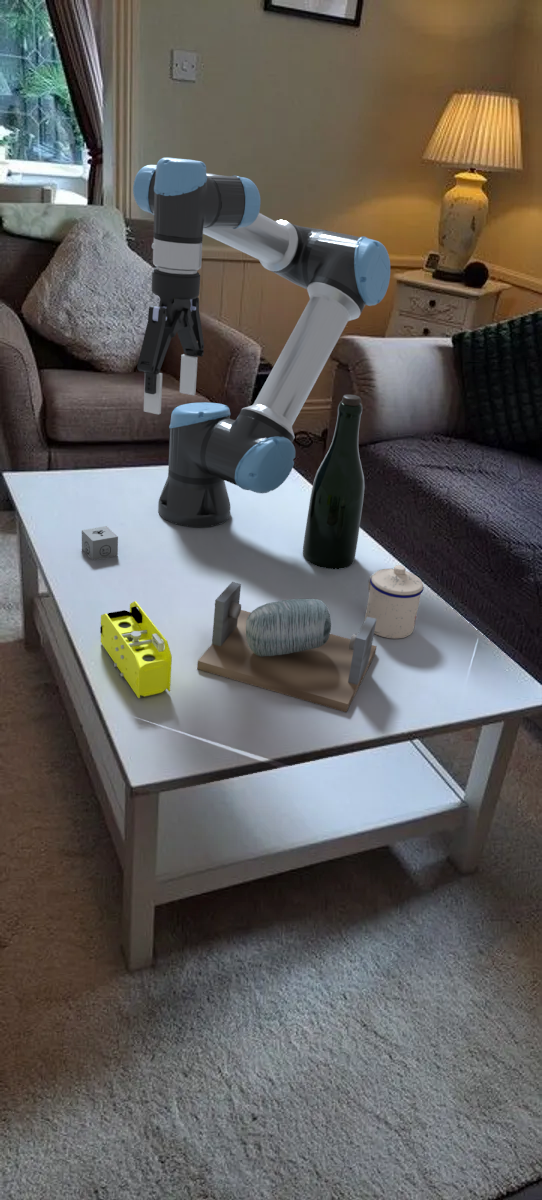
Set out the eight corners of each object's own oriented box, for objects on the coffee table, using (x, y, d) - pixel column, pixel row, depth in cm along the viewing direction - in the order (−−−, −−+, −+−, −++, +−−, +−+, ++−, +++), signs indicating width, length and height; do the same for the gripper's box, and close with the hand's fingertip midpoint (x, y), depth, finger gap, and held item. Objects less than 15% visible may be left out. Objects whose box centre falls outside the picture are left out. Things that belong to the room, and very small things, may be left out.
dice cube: (106, 549, 165) (106, 526, 163) (117, 560, 161) (118, 536, 159) (81, 554, 162) (81, 530, 160) (92, 565, 159) (92, 540, 156)
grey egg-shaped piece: (325, 620, 141) (311, 571, 136) (346, 652, 133) (332, 601, 128) (248, 652, 140) (231, 604, 134) (265, 685, 132) (247, 636, 127)
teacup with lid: (424, 635, 148) (437, 576, 143) (380, 644, 144) (392, 583, 139) (387, 602, 157) (398, 545, 152) (344, 609, 154) (354, 551, 148)
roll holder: (240, 617, 147) (244, 568, 143) (375, 653, 141) (384, 603, 137) (197, 668, 132) (200, 615, 128) (346, 712, 126) (356, 658, 122)
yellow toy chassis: (172, 694, 126) (175, 646, 122) (136, 703, 123) (137, 654, 119) (133, 640, 138) (134, 594, 134) (98, 646, 135) (99, 600, 131)
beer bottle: (362, 569, 168) (391, 404, 153) (313, 573, 165) (337, 405, 149) (341, 546, 177) (365, 387, 161) (293, 549, 173) (314, 387, 157)
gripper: (187, 258, 146) (181, 382, 156) (116, 274, 125) (114, 416, 135) (228, 265, 144) (219, 390, 154) (163, 282, 123) (157, 425, 133)
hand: (170, 402), depth 144 cm, fingers open, 13 cm apart
